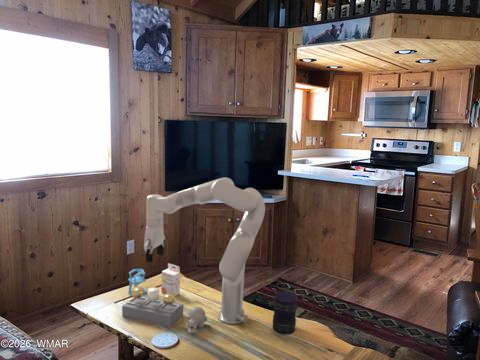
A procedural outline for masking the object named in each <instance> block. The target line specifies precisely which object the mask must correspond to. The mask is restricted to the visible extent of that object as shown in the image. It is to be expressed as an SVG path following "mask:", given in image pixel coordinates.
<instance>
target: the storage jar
mask: <svg viewBox="0 0 480 360" xmlns="http://www.w3.org/2000/svg"><path fill="white" fill-rule="evenodd" d="M297 302H298V296H297V295H296V294H295V293H293V292H291V291H287V290H283V291H277V292H275V293H274V299H273V311H274V312H273V314H272V330H273V331H274V333H276V334H279V335H284V336H287V335H292V334H294V333H295V331H296V324H297V322H296V321H297V319H296V318H297V317H296V313H297V312H296V311H297V309H298V308H297V306H298V303H297Z"/></svg>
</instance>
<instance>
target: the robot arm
mask: <svg viewBox="0 0 480 360" xmlns="http://www.w3.org/2000/svg"><path fill="white" fill-rule="evenodd" d="M216 200H217V201H220V202H221V203H223V204H225V205H227V206H230V207H232V208H233V209H235V210H238V211H240V212H243V213H244V214H243V216H242V218H241V221H240V222H239V223H240V224H239V225H238V227H237V229H236V231H235V232H234V234H233V235H232V237H231V238H230V239H229V242H228V244H227V246H226V249H225V251H224V254H223V255H222V258H221V260H220V262H219V267H218V268H219V269H218V270H219V272H220V275H221V276H222V280H221V281H222V284H221V308H220V311H219V312H217V319H218V320H219V321H220V322H222V323H223V324H227V325H237V324H240V323H246V321H247V319H248V317H249V316H248V314H245V309H244V308H243V303H244V302H243V301H244V283H245V271H246V270H245V269H246V261H247V259H248V257H249V255H250V253H251V251H252V249H253V246H254V243H255V240H256V236H257V235H258V232H259V230H260V227H261V225H262V223H263V220H264V217H265V215H266V214H265V213H266V204H265V200H264V198H263V196H262V194H261V193H260V192H259V191H258V190H257V189H255V188H253V187H246V188H245V189H242V188H239V187H237V186H236V185H235V183H234V181H233V180H232V179H231V178H229V177H220V178H216V179H214V180H211V181H207V182H204V183H202V184H198V185H196V186H193V187H189V188H187V189H183V190H181V191H178V192H174V193H172V194H169V195H168V196H163V195H161V194H157V193H156V194H148V196H147V197H146V204H145V206H146V207H145V208H146V213H145V216H146V217H145V218H146V224H145V225H146V227H145V229H144V240H143V242H144V244H143V251H144V253H145V262H147V263H153V261H154V260H153V259H154V255H153V254H154V253H153V251H154V249H155V248H156V255H158V256H164V249H165V248H164V246H165V242H166V241H165V240H166V235H165V232H164V230H165V229H164V214H166V215H167V214H170V215H171V214H174V213H175V212H177V211H178V210H180V209H182V208H185V207H188V206H191V205H198V204H199V205H206V204H208V203H210V202H215V201H216Z"/></svg>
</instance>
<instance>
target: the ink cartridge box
mask: <svg viewBox="0 0 480 360" xmlns="http://www.w3.org/2000/svg"><path fill="white" fill-rule="evenodd" d="M180 287H181V268H180V266H179V265H176V264H172V263H169V262H168V263H167V268H166V269H164V270H162V271H161V293H162V294H163V295H164V294H166V293H174V294H175V297H176V296H178V295H180V293H181V292H180V290H181V289H180Z"/></svg>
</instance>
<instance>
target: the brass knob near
mask: <svg viewBox="0 0 480 360" xmlns="http://www.w3.org/2000/svg"><path fill="white" fill-rule="evenodd" d="M162 298H163V299H162V300H163V302H164V304H173V303H175V302H176V296H175V294H174V293H166V294H164V293H163V297H162Z"/></svg>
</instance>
